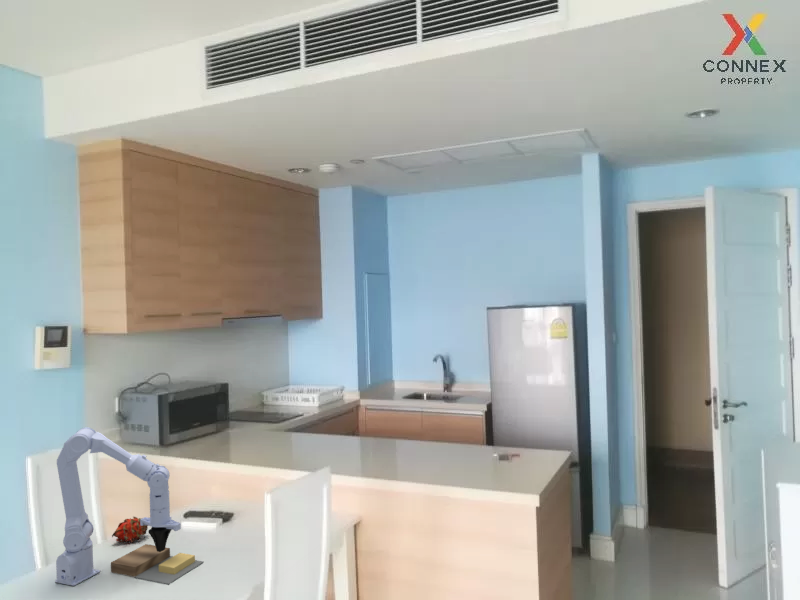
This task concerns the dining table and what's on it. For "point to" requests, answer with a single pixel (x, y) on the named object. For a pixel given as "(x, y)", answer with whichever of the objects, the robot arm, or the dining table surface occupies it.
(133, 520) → the dragon fruit
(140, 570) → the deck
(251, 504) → the dining table surface
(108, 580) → the dining table surface
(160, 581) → the mat
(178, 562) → the yellow rectangular block
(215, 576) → the dining table surface
